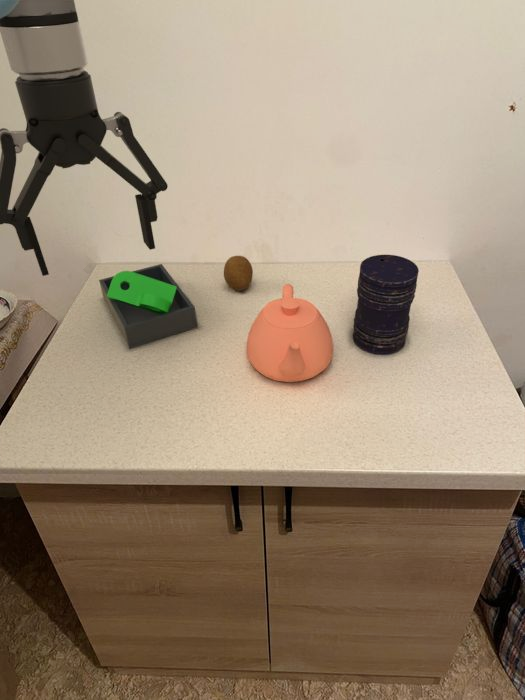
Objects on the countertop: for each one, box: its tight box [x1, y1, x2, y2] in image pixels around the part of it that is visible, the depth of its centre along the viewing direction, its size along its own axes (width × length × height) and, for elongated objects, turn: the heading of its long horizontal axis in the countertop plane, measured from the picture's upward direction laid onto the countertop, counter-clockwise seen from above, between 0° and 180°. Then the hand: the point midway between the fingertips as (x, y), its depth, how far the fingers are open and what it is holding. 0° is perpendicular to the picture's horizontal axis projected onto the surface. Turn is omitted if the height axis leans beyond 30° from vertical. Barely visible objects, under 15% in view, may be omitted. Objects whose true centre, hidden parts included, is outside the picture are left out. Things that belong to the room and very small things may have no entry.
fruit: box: [223, 255, 254, 291], centre depth 106 cm, size 6×6×8 cm
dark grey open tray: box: [98, 263, 198, 350], centre depth 101 cm, size 14×20×5 cm
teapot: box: [246, 283, 334, 383], centre depth 85 cm, size 22×15×12 cm
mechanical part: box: [107, 270, 177, 315], centre depth 95 cm, size 12×6×8 cm
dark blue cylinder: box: [352, 254, 420, 356], centre depth 89 cm, size 10×10×15 cm
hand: (98, 257), depth 65 cm, fingers open, 13 cm apart
